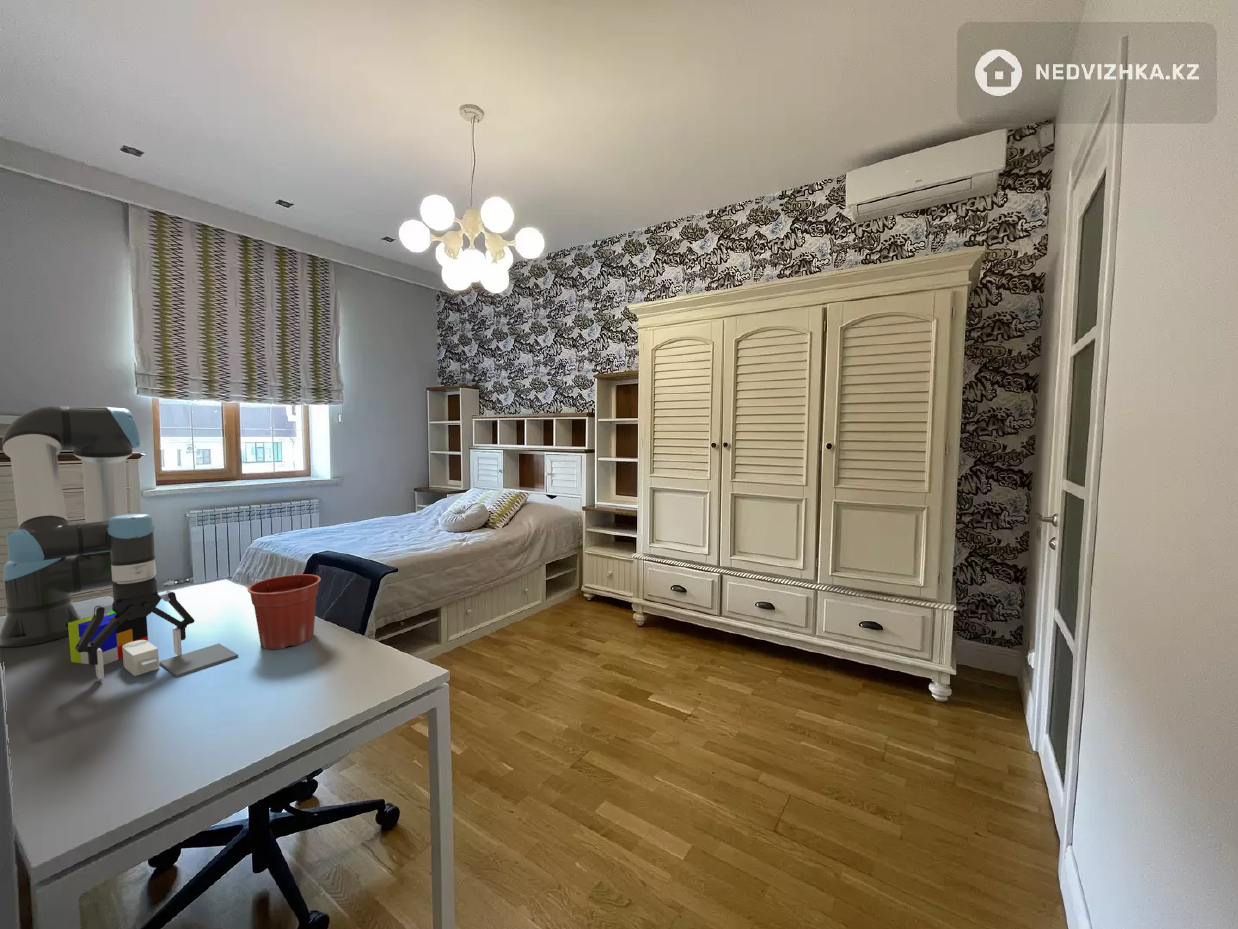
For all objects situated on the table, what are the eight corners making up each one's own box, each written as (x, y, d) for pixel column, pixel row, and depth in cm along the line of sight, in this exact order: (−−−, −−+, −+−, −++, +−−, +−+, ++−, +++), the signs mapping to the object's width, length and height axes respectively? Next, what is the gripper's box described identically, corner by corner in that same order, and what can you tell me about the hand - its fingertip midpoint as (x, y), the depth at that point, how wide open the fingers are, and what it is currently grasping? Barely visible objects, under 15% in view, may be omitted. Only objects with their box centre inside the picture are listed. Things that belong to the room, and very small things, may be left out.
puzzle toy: (101, 666, 119) (98, 626, 118) (71, 662, 121) (67, 623, 120) (148, 648, 129) (146, 611, 128) (119, 644, 131) (116, 608, 130)
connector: (121, 664, 119) (119, 645, 119) (145, 657, 123) (144, 638, 123) (138, 680, 112) (137, 659, 112) (163, 672, 116) (162, 651, 116)
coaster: (159, 663, 120) (159, 661, 120) (219, 645, 130) (219, 643, 130) (177, 677, 114) (176, 674, 114) (238, 656, 124) (238, 654, 124)
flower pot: (326, 643, 132) (323, 585, 131) (250, 660, 122) (247, 597, 121) (319, 623, 145) (317, 570, 144) (250, 637, 135) (247, 581, 134)
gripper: (59, 597, 104) (67, 692, 105) (206, 569, 125) (211, 648, 126) (51, 591, 108) (59, 683, 109) (195, 564, 129) (200, 642, 130)
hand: (141, 665), depth 118 cm, fingers open, 13 cm apart
